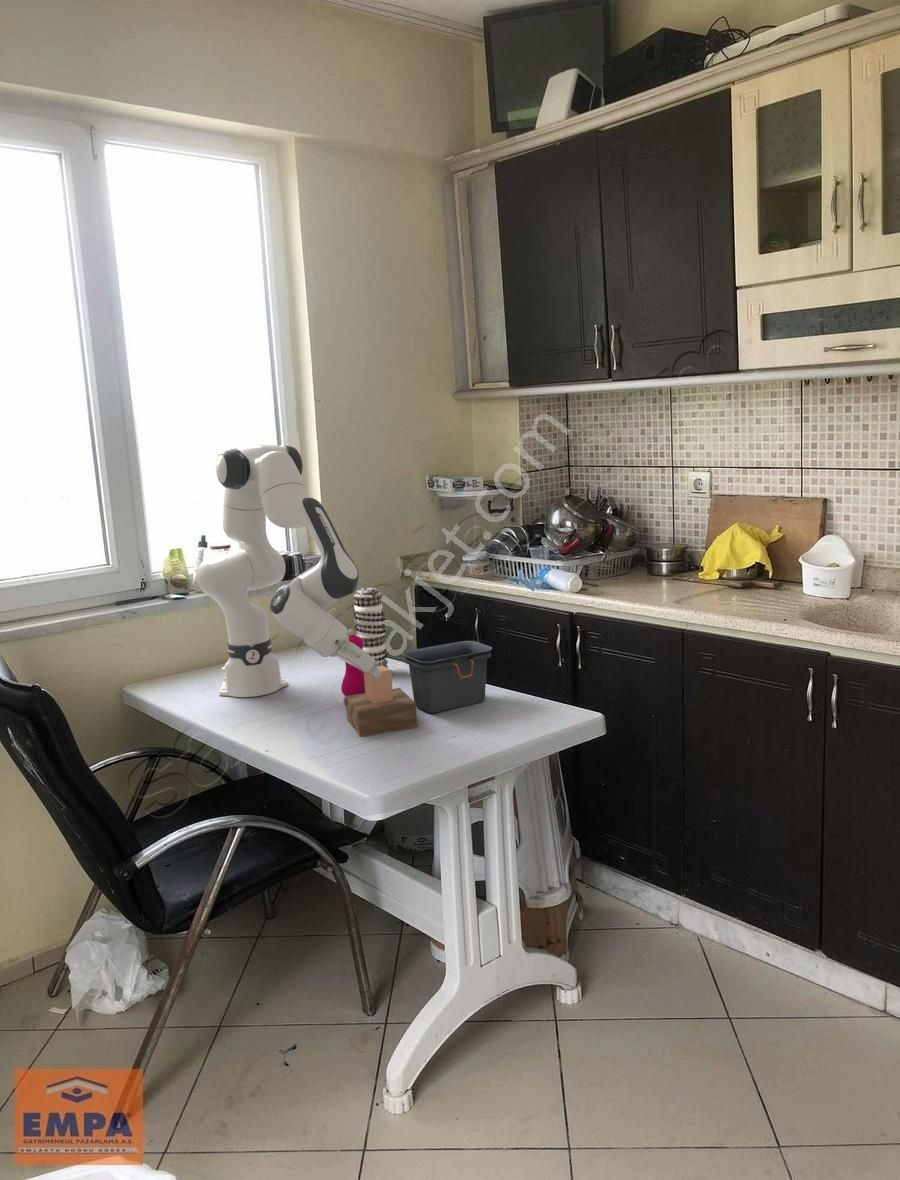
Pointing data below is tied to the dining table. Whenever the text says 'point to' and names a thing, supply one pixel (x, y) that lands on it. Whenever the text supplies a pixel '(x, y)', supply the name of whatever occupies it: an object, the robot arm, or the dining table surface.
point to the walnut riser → (381, 713)
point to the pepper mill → (353, 672)
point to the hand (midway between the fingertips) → (370, 670)
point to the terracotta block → (379, 686)
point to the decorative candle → (370, 623)
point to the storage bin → (448, 675)
